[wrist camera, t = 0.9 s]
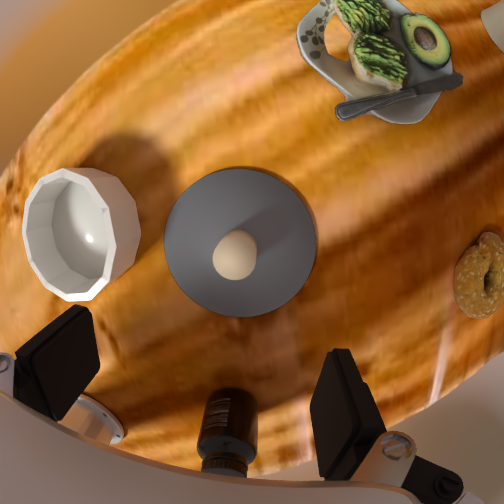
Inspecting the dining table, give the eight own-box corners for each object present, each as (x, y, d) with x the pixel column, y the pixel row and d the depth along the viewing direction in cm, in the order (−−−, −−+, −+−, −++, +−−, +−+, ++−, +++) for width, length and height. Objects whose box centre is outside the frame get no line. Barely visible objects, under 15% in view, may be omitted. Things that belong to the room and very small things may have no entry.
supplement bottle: (206, 415, 34) (189, 483, 22) (208, 381, 32) (189, 456, 20) (254, 422, 34) (250, 492, 22) (263, 390, 32) (261, 467, 20)
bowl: (94, 301, 30) (70, 321, 25) (39, 221, 28) (10, 229, 22) (163, 237, 27) (141, 250, 22) (95, 145, 25) (65, 142, 20)
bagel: (507, 243, 26) (529, 252, 21) (479, 314, 29) (497, 329, 24) (468, 218, 26) (492, 225, 21) (436, 301, 28) (456, 318, 24)
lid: (229, 336, 31) (224, 362, 26) (139, 233, 28) (118, 244, 23) (342, 258, 28) (356, 274, 23) (251, 138, 25) (249, 129, 20)
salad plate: (392, 176, 25) (413, 176, 21) (255, 64, 23) (253, 44, 19) (463, 72, 21) (484, 64, 16) (353, -22, 19) (362, -41, 14)
